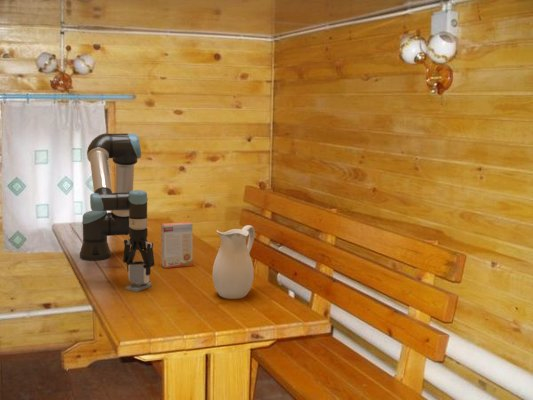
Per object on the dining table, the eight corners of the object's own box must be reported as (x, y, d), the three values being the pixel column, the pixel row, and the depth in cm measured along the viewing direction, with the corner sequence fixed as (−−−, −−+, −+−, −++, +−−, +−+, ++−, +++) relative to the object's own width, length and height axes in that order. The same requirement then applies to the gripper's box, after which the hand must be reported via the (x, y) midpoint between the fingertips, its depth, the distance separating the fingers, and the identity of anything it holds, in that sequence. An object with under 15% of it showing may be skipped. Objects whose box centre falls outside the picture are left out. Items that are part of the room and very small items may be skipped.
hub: (126, 282, 268) (126, 263, 267) (137, 277, 275) (137, 259, 273) (140, 284, 265) (140, 266, 264) (151, 280, 271) (151, 262, 270)
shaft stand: (125, 289, 267) (125, 271, 266) (140, 283, 276) (140, 265, 275) (136, 291, 264) (136, 273, 263) (152, 285, 273) (151, 267, 272)
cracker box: (189, 263, 311) (189, 221, 308) (192, 266, 306) (193, 223, 302) (161, 265, 306) (160, 222, 302) (164, 268, 300) (164, 225, 297)
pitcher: (238, 304, 252) (239, 235, 247) (203, 296, 261) (204, 229, 256) (269, 289, 272) (271, 225, 267) (237, 282, 281) (238, 220, 276)
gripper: (113, 226, 267) (114, 279, 271) (152, 232, 258) (152, 286, 262) (125, 223, 274) (125, 275, 278) (163, 229, 265) (163, 282, 268)
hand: (138, 280), depth 270 cm, fingers closed on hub, 7 cm apart
